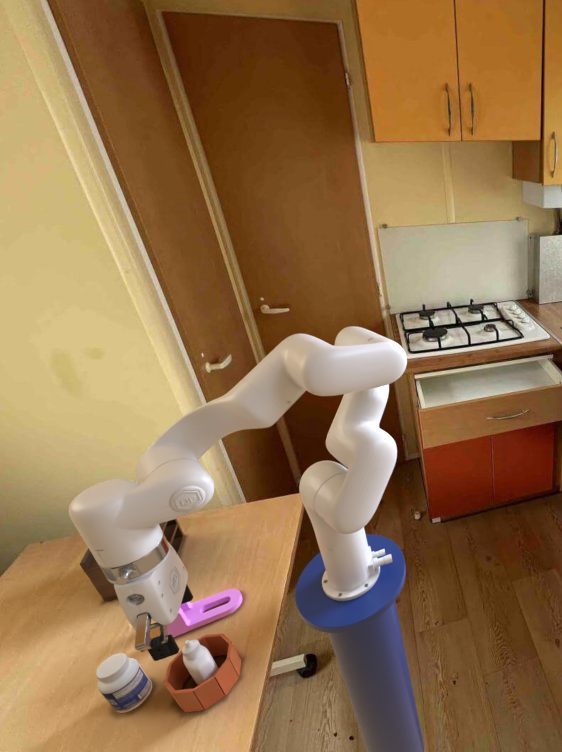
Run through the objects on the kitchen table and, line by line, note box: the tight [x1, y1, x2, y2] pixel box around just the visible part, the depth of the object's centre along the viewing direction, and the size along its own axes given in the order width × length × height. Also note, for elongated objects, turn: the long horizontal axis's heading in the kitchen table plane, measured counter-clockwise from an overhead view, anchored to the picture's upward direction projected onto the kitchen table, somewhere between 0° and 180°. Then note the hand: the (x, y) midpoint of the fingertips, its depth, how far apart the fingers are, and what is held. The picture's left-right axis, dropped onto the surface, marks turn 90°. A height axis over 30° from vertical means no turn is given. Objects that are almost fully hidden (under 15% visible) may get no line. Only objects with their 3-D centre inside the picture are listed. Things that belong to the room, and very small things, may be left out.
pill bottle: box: [95, 652, 153, 714], centre depth 73 cm, size 5×5×10 cm
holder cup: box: [163, 632, 242, 713], centre depth 76 cm, size 10×10×6 cm
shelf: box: [79, 518, 186, 602], centre depth 97 cm, size 12×14×12 cm
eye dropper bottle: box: [181, 638, 220, 687], centre depth 75 cm, size 4×6×12 cm
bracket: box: [158, 588, 243, 638], centre depth 88 cm, size 13×6×7 cm, turn 119°
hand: (175, 627), depth 70 cm, fingers open, 9 cm apart
